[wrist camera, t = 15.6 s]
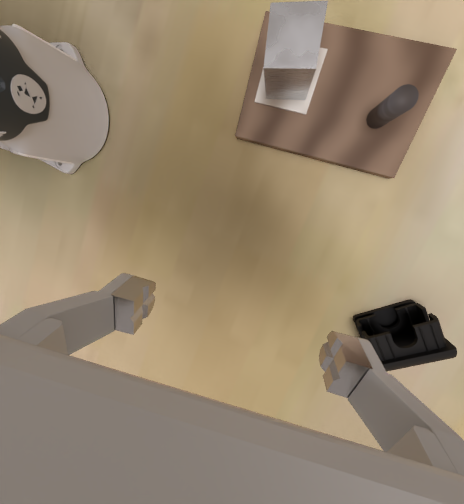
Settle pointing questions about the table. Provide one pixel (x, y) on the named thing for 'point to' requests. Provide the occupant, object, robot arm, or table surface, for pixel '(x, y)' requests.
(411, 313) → the end cap
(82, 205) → the table surface
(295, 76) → the tall grey pillar
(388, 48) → the walnut board
